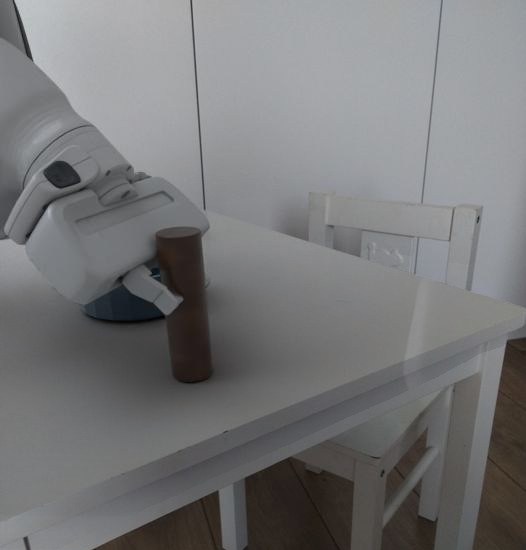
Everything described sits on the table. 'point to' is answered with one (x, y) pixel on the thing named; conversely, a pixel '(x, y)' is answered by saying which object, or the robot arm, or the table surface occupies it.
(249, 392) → the table surface
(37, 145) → the robot arm
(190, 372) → the brown wooden cylinder
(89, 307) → the bowl
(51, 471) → the table surface
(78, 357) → the table surface
